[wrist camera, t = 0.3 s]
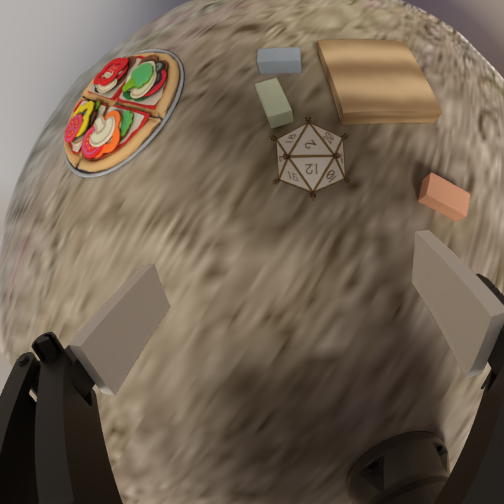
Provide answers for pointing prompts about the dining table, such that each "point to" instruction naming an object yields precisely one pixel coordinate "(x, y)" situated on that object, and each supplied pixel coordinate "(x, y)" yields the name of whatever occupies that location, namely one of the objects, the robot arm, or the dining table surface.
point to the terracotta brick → (444, 197)
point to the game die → (310, 158)
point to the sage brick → (274, 103)
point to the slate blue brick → (279, 60)
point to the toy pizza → (122, 111)
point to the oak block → (377, 82)
